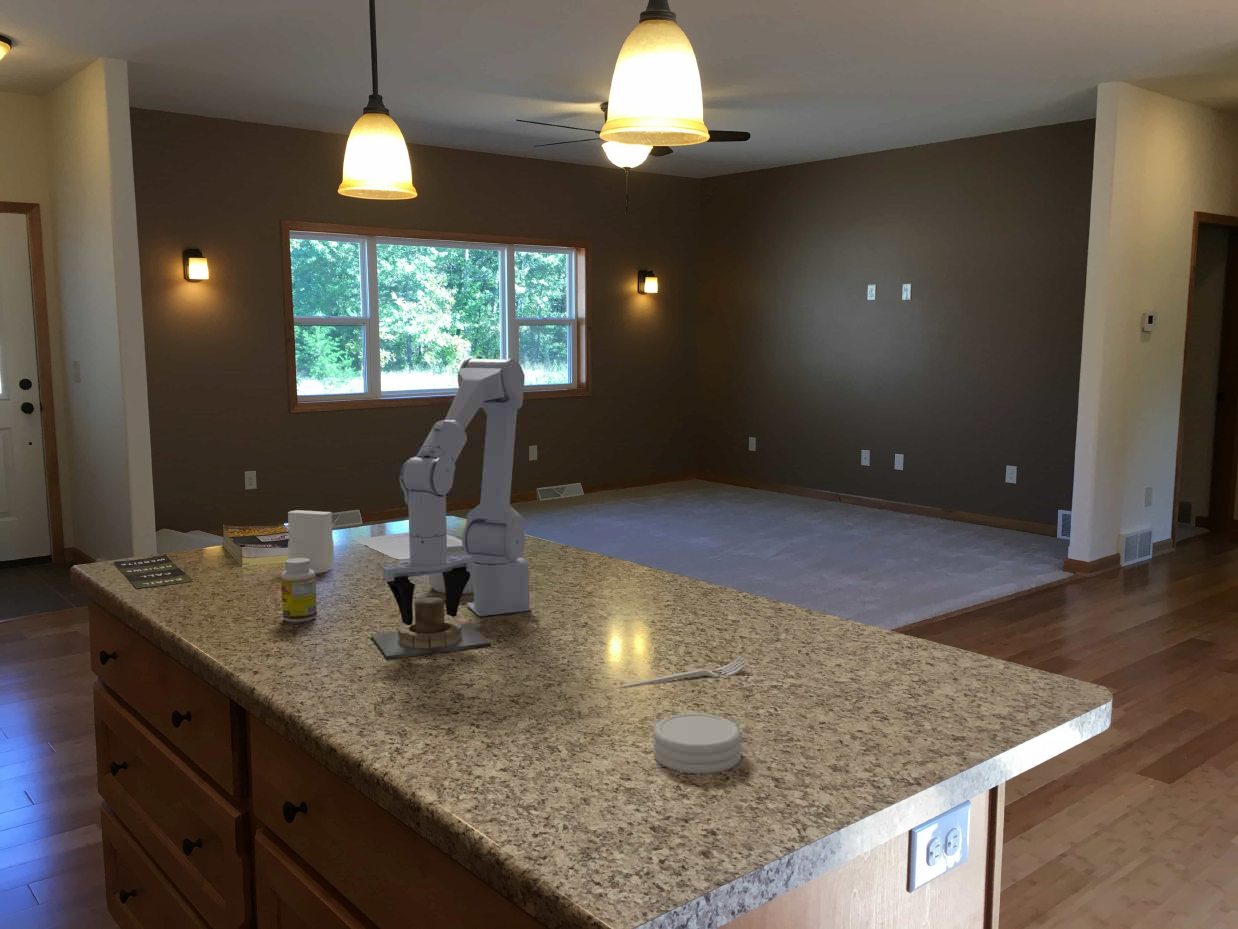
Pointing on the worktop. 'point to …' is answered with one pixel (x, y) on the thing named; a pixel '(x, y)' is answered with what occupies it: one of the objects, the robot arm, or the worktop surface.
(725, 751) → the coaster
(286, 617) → the supplement bottle
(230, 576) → the worktop surface
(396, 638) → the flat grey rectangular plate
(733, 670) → the fork
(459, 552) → the ramekin
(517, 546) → the robot arm
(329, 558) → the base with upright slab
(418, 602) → the walnut peg
